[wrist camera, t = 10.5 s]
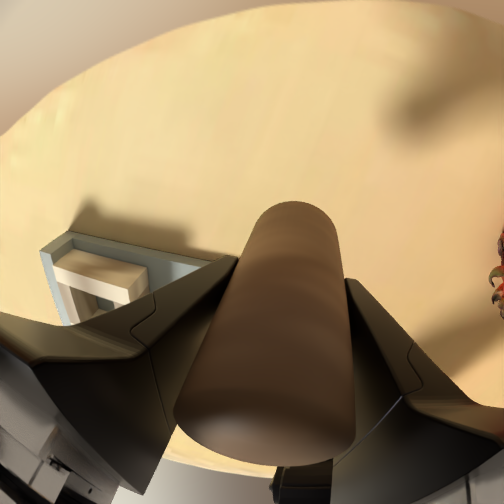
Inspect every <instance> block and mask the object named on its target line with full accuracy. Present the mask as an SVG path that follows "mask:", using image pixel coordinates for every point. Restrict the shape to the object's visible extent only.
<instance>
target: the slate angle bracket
mask: <svg viewBox="0 0 504 504" xmlns="http://www.w3.org/2000/svg"><path fill="white" fill-rule="evenodd" d="M72 249H77V250H81V251H84V252H88V253H92V254H96V255H99V256H103V257H107V258H111V259H115V260H119V261H123V262H127V263H131V264H135V265H139V266H143V267H147V272H148V281H149V290H150V293H153V291H155V290H157V289H159V288H161V287H163V286H165V285H167V284H169V283H171V282H173V281H175V280H177V279H179V278H181V277H183V276H185V275H187V274H189V273H191V272H193V271H195V270H197V269H199V268H201V267H203V266H205V265H207V264H209V263H211V261H206V260H201V259H196V258H191V257H186V256H181V255H177V254H172V253H167V252H162V251H158V250H153V249H148V248H144V247H139V246H134V245H130V244H125V243H120V242H116V241H111V240H107V239H102V238H98V237H93V236H89V235H84V234H80V233H76V232H71V231H66V232H65V233H63V234H62V235H60V236H59V237H57V238H56V239H55V240H53V241H52V242H50V243H49V244H48V245H46V246H45V247H43V248H42V249H41V250H39V252H40V256H41V260H42V263H43V267H44V271H45V274H46V277H47V281H48V284H49V287H50V290H51V293H52V296H53V299H54V302H55V305H56V308H57V310H58V313H59V316H60V319H61V321H62V324H63V326H69V325H71V323H70V320H69V317H68V315H67V312H66V309H65V306H64V303H63V300H62V297H61V294H60V291H59V287H58V284H57V281H56V277H55V274H54V270H53V266H52V265H53V264H55V263H56V262H57V261H58V260H59V259H61V258H62V257H63V256H65V255H66V254H67V253H68V252H70V251H71V250H72ZM95 296H96V295H95ZM96 300H97V304H98V307H99V309H101V310H104V311H107V312H108V311H111V310H114V309H115V307H114V303H113V301H111V300H108V299H105V298H102V297H99V296H96Z"/></svg>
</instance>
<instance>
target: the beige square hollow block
mask: <svg viewBox="0 0 504 504" xmlns="http://www.w3.org/2000/svg"><path fill="white" fill-rule="evenodd" d="M52 266H53V270H54V274H55V277H56V281H57V284H58V287H59V291H60V294H61V297H62V300H63V303H64V306H65V309H66V312H67V315H68V317H69V320H70V323H71V325H74V324H77V323H80V322H83V321H85V320H88V319H90V318H93V317H96V316H98V315H101V314H103V313H106V312H107V311H104V310H101V309H99V307H98V304H97V300H96V296H99V297H102V298H105V299H108V300H111V301H113V303H114V307H115V309H116V308H118V307H121V306H123V305H126V304H128V303H130V302H132V301H134V300H137V299H139V298H141V297H143V296H145V295H147V294H149V293H150V290H149V281H148V272H147V267H143V266H139V265H135V264H131V263H127V262H123V261H119V260H115V259H111V258H107V257H103V256H99V255H96V254H92V253H88V252H84V251H81V250H77V249H72V250H71V251H70V252H68V253H67V254H66V255H65V256H63V257H62V258H61V259H59V260H58V261H57V262H56V263H55V264H53V265H52ZM95 295H96V296H95Z"/></svg>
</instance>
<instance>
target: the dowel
mask: <svg viewBox="0 0 504 504" xmlns="http://www.w3.org/2000/svg"><path fill="white" fill-rule="evenodd" d="M173 416H174V418H175V421H176V423H177V424H178V426H179V427H180V428H181V429H182V430H183V431H184V432H185V433H186V434H187V435H188V436H189V437H190V438H192V439H193V440H194V441H196V442H197V443H199V444H200V445H202V446H204V447H206V448H208V449H210V450H212V451H214V452H216V453H219V454H221V455H224V456H226V457H229V458H233V459H236V460H240V461H243V462H248V463H253V464H259V465H267V466H302V465H309V464H315V463H319V462H323V461H326V460H329V459H332V458H334V457H336V456H338V455H340V454H342V453H343V452H345V451H346V450H347V449H348V448H349V447H350V446H351V445H352V444H353V442H354V440H355V436H356V415H355V388H354V371H353V357H352V344H351V333H350V323H349V314H348V305H347V297H346V289H345V282H344V274H343V268H342V261H341V254H340V248H339V242H338V236H337V232H336V229H335V226H334V224H333V222H332V221H331V219H330V218H329V217H328V216H327V215H326V214H325V213H324V212H323V211H322V210H320V209H319V208H317V207H315V206H314V205H311V204H308V203H305V202H299V201H289V202H283V203H279V204H277V205H274V206H272V207H271V208H269V209H268V210H266V211H265V212H264V213H263V214H262V215H261V216H260V218H259V219H258V220H257V222H256V224H255V226H254V228H253V231H252V233H251V235H250V237H249V239H248V242H247V244H246V246H245V248H244V250H243V253H242V255H241V257H240V259H239V261H238V264H237V266H236V268H235V270H234V272H233V275H232V277H231V279H230V281H229V283H228V286H227V288H226V290H225V292H224V294H223V297H222V299H221V301H220V303H219V306H218V308H217V310H216V312H215V314H214V317H213V319H212V321H211V323H210V326H209V328H208V330H207V332H206V334H205V337H204V339H203V341H202V343H201V346H200V348H199V350H198V352H197V355H196V357H195V359H194V361H193V364H192V366H191V368H190V370H189V373H188V375H187V377H186V379H185V382H184V384H183V386H182V388H181V391H180V393H179V395H178V398H177V400H176V402H175V404H174V408H173Z"/></svg>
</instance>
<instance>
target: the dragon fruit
mask: <svg viewBox="0 0 504 504" xmlns="http://www.w3.org/2000/svg"><path fill="white" fill-rule="evenodd" d="M503 243H504V233H502V234H501V236H500V239H499V241H498V246H499V247H498V253H499V255H500V256H501V259H502V261H501V266H497V267H495V268H494V269H493V270H492V272H491V273H490V275H489V282H490V284H491V285H492V286H493V287H495V286H494V283H493V282H492V278H493V277H502V279H503V283H502V284H501V285H500V286H499V287H498V288H497V289H496V290H495V292H494V294H493V296H492V303H493V304H494V301H498V300H500V301H499V303H498V307H499V308H500V309H501V311H500V315H501V317H502V318H503V319H504V247H503Z"/></svg>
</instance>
